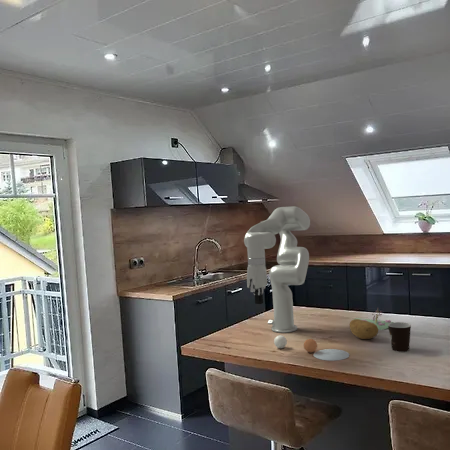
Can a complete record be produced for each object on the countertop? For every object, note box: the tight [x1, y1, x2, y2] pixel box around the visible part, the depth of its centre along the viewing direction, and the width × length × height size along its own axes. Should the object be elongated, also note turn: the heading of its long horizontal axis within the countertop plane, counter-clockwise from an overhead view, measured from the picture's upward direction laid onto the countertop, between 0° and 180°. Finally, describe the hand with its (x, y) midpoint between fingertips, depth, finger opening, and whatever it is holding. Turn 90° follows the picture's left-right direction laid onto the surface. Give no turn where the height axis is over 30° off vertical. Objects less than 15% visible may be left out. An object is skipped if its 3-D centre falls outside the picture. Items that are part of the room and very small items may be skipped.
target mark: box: [313, 348, 350, 362], centre depth 191 cm, size 14×14×1 cm
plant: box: [352, 307, 394, 331], centre depth 235 cm, size 25×21×9 cm
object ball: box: [303, 338, 318, 353], centre depth 196 cm, size 5×5×5 cm
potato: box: [349, 318, 379, 340], centre depth 210 cm, size 10×14×8 cm
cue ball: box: [273, 334, 288, 349], centre depth 204 cm, size 5×5×5 cm
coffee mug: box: [387, 321, 412, 353], centre depth 193 cm, size 12×9×10 cm
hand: (259, 303), depth 209 cm, fingers closed
